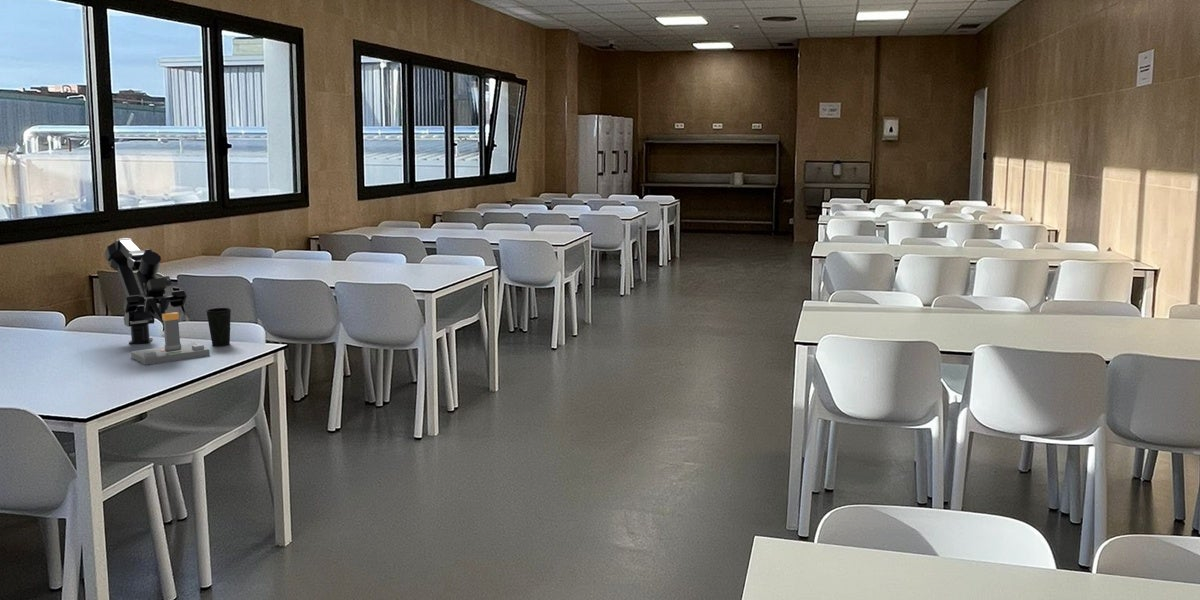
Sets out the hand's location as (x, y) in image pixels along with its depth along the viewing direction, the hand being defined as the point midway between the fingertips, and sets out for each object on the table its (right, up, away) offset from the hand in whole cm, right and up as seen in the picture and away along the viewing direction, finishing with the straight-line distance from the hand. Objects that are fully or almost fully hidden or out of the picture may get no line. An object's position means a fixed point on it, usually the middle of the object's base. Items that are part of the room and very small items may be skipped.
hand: (163, 321), depth 335 cm
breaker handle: (+5, -9, -4) cm, 11 cm away
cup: (+13, -8, +16) cm, 22 cm away
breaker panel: (+3, -11, -2) cm, 12 cm away
